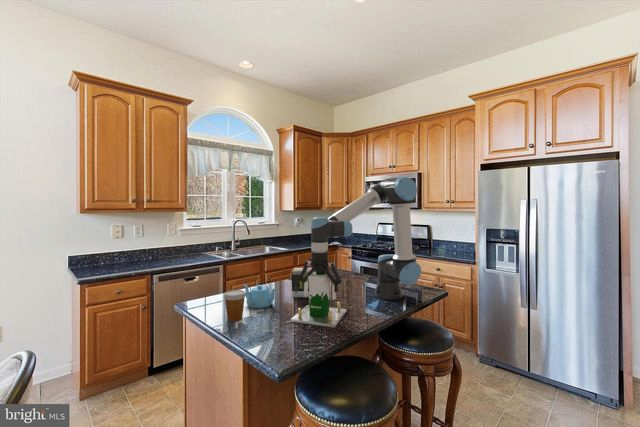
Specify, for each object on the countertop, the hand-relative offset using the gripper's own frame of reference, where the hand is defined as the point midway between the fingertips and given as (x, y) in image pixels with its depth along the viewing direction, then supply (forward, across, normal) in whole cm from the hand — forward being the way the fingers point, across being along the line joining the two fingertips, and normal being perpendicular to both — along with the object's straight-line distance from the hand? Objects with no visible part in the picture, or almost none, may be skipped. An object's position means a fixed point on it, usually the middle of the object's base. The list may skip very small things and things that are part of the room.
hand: (319, 297), depth 144 cm
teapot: (+9, +34, -4) cm, 35 cm away
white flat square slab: (+9, 0, 0) cm, 9 cm away
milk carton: (+8, 0, 0) cm, 8 cm away
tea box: (+9, +18, -29) cm, 35 cm away
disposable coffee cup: (+9, +35, +15) cm, 39 cm away
